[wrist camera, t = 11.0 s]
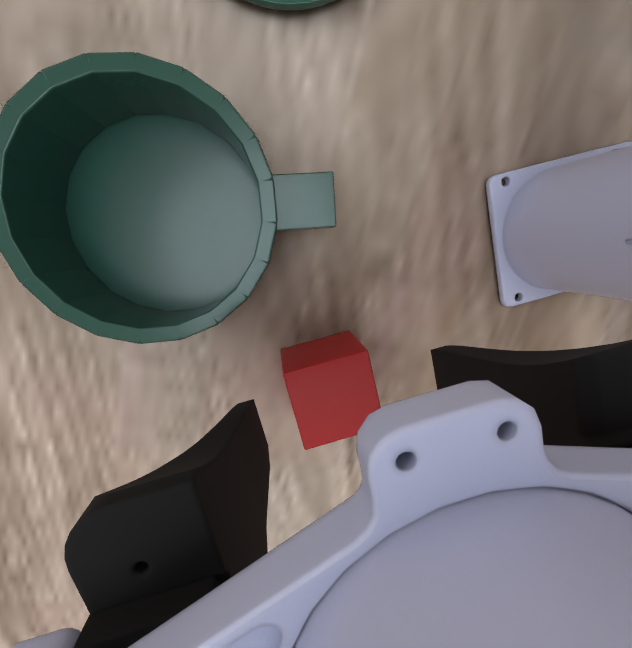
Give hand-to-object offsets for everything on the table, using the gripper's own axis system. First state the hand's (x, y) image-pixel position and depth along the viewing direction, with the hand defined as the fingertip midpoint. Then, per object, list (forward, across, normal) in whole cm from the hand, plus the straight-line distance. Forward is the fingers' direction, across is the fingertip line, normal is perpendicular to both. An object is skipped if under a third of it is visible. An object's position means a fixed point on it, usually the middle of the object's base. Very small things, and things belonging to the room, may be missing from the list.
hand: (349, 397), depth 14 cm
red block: (+8, 0, +2) cm, 9 cm away
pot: (+8, +6, -9) cm, 14 cm away
